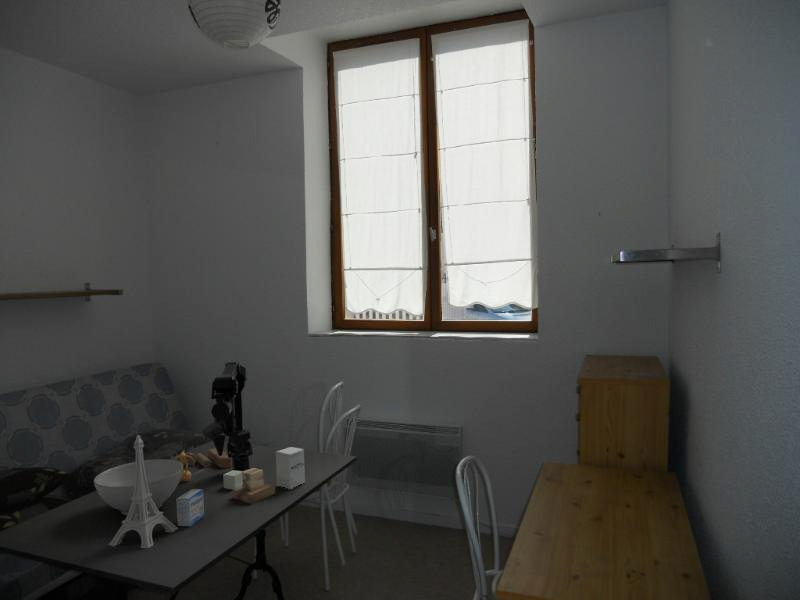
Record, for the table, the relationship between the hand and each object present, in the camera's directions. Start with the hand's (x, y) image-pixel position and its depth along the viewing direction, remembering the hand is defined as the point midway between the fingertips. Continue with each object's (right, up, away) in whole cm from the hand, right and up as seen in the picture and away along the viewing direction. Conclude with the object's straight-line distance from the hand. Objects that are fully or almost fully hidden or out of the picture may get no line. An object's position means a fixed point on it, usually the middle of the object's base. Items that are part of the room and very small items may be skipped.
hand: (228, 457), depth 196 cm
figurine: (-21, -14, +16) cm, 29 cm away
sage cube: (-1, -13, +9) cm, 16 cm away
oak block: (+9, -10, -1) cm, 13 cm away
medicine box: (-5, -14, -20) cm, 25 cm away
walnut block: (+9, -13, -1) cm, 16 cm away
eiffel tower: (-15, -15, -30) cm, 37 cm away
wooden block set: (-20, -13, +34) cm, 42 cm away
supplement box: (+20, -12, +8) cm, 25 cm away
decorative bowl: (-26, -15, -8) cm, 31 cm away
